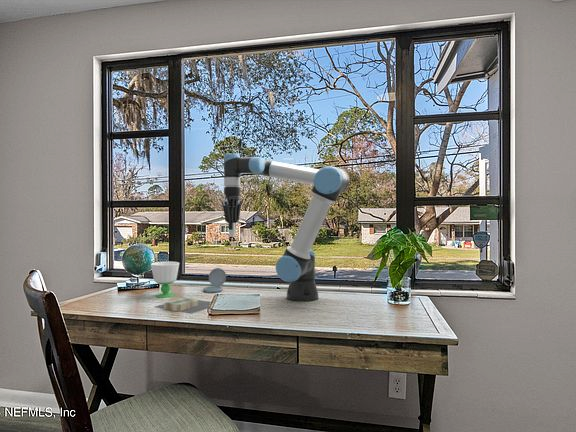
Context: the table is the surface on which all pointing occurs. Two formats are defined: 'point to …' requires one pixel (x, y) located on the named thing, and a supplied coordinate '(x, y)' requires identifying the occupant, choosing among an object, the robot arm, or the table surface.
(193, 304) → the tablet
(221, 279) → the grey upright round piece
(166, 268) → the cup
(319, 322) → the table surface
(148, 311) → the table surface
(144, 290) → the table surface
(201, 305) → the mat
